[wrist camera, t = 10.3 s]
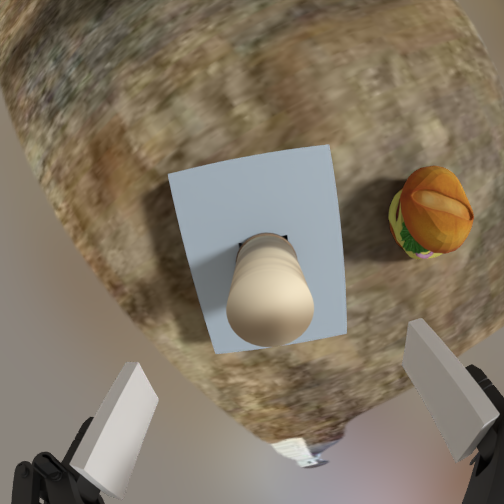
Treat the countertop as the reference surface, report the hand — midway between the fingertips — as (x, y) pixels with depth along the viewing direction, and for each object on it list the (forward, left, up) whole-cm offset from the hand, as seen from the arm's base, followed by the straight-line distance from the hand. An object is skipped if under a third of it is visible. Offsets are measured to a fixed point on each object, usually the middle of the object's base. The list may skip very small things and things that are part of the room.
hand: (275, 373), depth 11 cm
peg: (0, 0, -20) cm, 20 cm away
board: (0, 0, -20) cm, 20 cm away
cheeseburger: (-1, +19, -21) cm, 28 cm away
